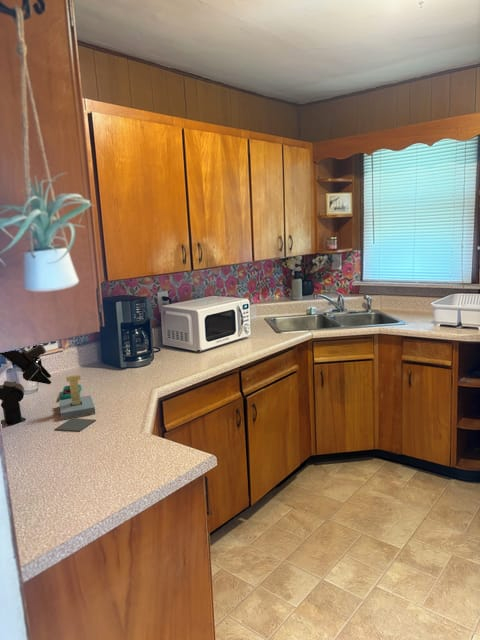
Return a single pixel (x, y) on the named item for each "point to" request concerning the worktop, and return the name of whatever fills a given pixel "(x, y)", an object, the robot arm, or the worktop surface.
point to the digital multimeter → (67, 393)
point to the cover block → (76, 408)
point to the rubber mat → (75, 424)
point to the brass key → (74, 389)
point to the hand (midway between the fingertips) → (50, 380)
